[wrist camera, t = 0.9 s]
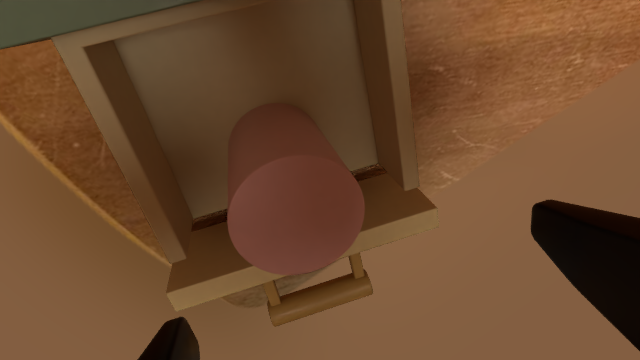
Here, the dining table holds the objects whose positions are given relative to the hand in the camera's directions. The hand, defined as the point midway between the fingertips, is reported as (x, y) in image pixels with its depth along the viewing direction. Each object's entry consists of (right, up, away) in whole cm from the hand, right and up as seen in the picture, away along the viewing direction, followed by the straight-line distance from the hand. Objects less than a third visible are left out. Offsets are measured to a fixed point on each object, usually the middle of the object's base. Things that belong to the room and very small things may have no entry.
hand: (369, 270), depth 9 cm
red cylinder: (-3, +4, +10) cm, 11 cm away
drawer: (-3, +3, +11) cm, 12 cm away
